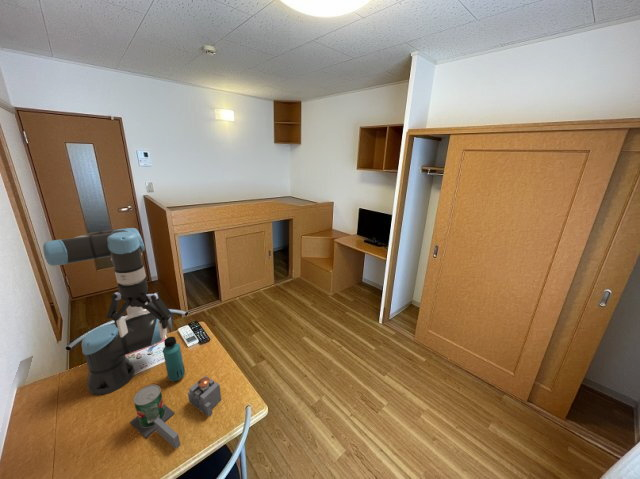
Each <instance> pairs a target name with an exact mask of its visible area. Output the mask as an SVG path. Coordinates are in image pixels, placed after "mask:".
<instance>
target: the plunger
mask: <svg viewBox="0 0 640 479" xmlns="http://www.w3.org/2000/svg"><path fill="white" fill-rule="evenodd" d="M203 377H204V376H203ZM203 377H201V378H199V380H198V381H197V382H198V386H199V387H200V390H201V392H202V394H203V393H204V392H205V391H206V390H207V389H209V383H210V379H211V378H210V377H209V376H207V377H204V378H203ZM208 377H209V378H208Z"/></svg>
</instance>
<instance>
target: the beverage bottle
mask: <svg viewBox="0 0 640 479" xmlns="http://www.w3.org/2000/svg"><path fill="white" fill-rule="evenodd" d="M163 342H164V343H163V344H164V348H163V349H162V354H163V359H164V363H165V370H166V375H167V378H168V380H169V381H171V382H176V381H178V380H181V379H182V378H183V377H184V376H185V365H184V360H183V355H182V350H181V345H180V343H178V342H177V339H176V337H175V336H167V337H166V338H165V339H164V341H163Z"/></svg>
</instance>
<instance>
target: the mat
mask: <svg viewBox="0 0 640 479" xmlns="http://www.w3.org/2000/svg"><path fill="white" fill-rule="evenodd" d="M164 408H165V416H164V417H163V419H162V421H163V422H164V423H166V422H167V421H168V420H169V419H170V418H171V417H173V416H174V415H176V413H175V411H173V410H172V409H171V408H170V407H168V406H167V405H166V404H165V403H164ZM129 423H130V425H131V426H132V427H134V429H136V430H137V431H138V432H139V433H140V434H141V435H142V437H144V438H145V439H147V438H149V436H151V435H152V434H153V433H154V432H156V428H155V426H153V427H150V428H143V427H141V426H140V423H139V419H138V415H137V416H136V417H134V418H133V419H132V420H130V421H129Z"/></svg>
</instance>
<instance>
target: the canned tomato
mask: <svg viewBox="0 0 640 479" xmlns="http://www.w3.org/2000/svg"><path fill="white" fill-rule="evenodd" d="M163 399H164V398H163V394H162V389H161V387H160V385H159V384H158V385H157V384H150V385H149V384H148V385H147V386H146V385H145V386H143V387H142V388H141V389H139V390H138V391H137V392H136V393H135V395H134V396H133V404H134V408H135V411H136V415H137V416H138V419H139V423H140V426H141V427H143V428H150V427H153V426H155V424H154V420H155V419H157V418H158V417H159V418H160V419H161V420H162V419H163V417H164V416H165V408H164V404H165V403H164V400H163Z"/></svg>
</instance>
